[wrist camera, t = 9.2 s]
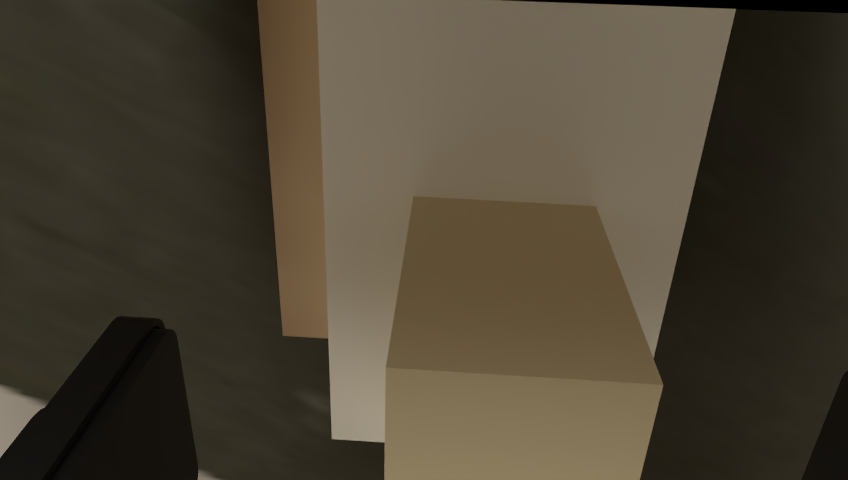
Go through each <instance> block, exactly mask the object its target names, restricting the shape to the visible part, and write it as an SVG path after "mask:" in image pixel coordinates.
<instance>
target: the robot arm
mask: <svg viewBox="0 0 848 480" xmlns="http://www.w3.org/2000/svg"><path fill="white" fill-rule="evenodd" d="M197 479H198V463H197V457H196V451H195V445H194V439H193V433H192V426H191V420H190V414H189V408H188V402H187V396H186V390H185V384H184V378H183V371H182V365H181V359H180V353H179V347H178V341H177V336H176V333H175V332H174V330H171V329H165V326H164V324H163V322H162V320H160V319H158V318H142V317H125V316H120V317H117V318H115V319H114V320H113V321H112V322H111V324H110V325H109V326H108V328H107V329H106V330H105V331H104V333H103V334H102V335H101V336H100V338H99V339H98V340H97V342H96V343H95V344H94V345H93V347H92V348H91V349H90V351H89V352H88V353H87V354H86V356H85V357H84V358H83V360H82V361H81V362H80V363H79V365H78V366H77V367H76V369H75V370H74V371H73V372H72V374H71V375H70V376H69V378H68V379H67V380H66V381H65V383H64V384H63V385H62V386H61V388H60V389H59V390H58V392H57V393H56V394H55V395H54V397H53V398H52V399H51V401H50V402H49V403H48V404H47V406H46V407H45V408H43V409H41V410H40V411H39V412H38V413H36V414H35V415H34V416H33V417H32V419H31V420H30V421H29V422H28V424H27V425H26V426H25V428H24V429H23V430H22V431H21V432H20V434H19V435H18V437H16V439H15V440H14V442H13V443H12V444H11V445H10V446H9V448H8V449H7V450H6V451H5V453H4V454H3V455H2V456H1V458H0V480H197ZM802 480H848V371H847V372H846V373H845V374H844V375H843V377H842V379H841V381H840V384H839V387H838V389H837V392H836V394H835V397H834V399H833V402H832V404H831V407H830V409H829V412H828V414H827V417H826V419H825V422H824V424H823V427H822V429H821V432H820V435H819V437H818V440H817V442H816V445H815V447H814V450H813V452H812V455H811V457H810V460H809V462H808V465H807V467H806V470H805V472H804V475H803V477H802Z"/></svg>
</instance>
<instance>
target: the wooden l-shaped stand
mask: <svg viewBox="0 0 848 480" xmlns="http://www.w3.org/2000/svg"><path fill="white" fill-rule="evenodd" d="M501 1H529V2H556V3H584V4H612V5H639V6H667V7H694V8H722V9H749V10H777V11H804V12H832V13H848V0H501ZM257 6H258V19H259V32H260V45H261V58H262V71H263V84H264V97H265V110H266V123H267V136H268V149H269V162H270V175H271V188H272V201H273V214H274V227H275V240H276V253H277V266H278V279H279V292H280V305H281V318H282V331H283V336H295V337H312V338H328V313H327V285H326V256H325V228H324V199H323V171H322V142H321V114H320V85H319V56H318V28H317V0H257Z"/></svg>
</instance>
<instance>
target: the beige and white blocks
mask: <svg viewBox="0 0 848 480" xmlns="http://www.w3.org/2000/svg"><path fill="white" fill-rule="evenodd" d="M735 11H736V9H722V8H694V7H667V6H639V5H612V4H584V3H556V2H529V1H501V0H317V28H318V56H319V85H320V114H321V142H322V171H323V199H324V228H325V256H326V285H327V313H328V342H329V370H330V399H331V427H332V439H340V440H355V441H371V442H385V465H384V480H640V476H641V472H642V468H643V464H644V460H645V456H646V452H647V448H648V444H649V440H650V436H651V432H652V428H653V424H654V420H655V416H656V412H657V408H658V404H659V400H660V396H661V392H662V388H663V383H662V380H661V377H660V375H659V372H658V369H657V367H656V364H655V361H654V359H653V358H654V354H655V350H656V345H657V341H658V337H659V333H660V328H661V324H662V320H663V316H664V312H665V307H666V303H667V299H668V295H669V290H670V286H671V282H672V278H673V273H674V269H675V265H676V261H677V257H678V252H679V248H680V244H681V240H682V235H683V231H684V227H685V223H686V218H687V214H688V210H689V206H690V202H691V197H692V193H693V189H694V185H695V180H696V176H697V172H698V168H699V163H700V159H701V155H702V151H703V147H704V142H705V138H706V134H707V130H708V125H709V121H710V117H711V113H712V108H713V104H714V100H715V96H716V92H717V87H718V83H719V79H720V75H721V70H722V66H723V62H724V58H725V54H726V49H727V45H728V41H729V37H730V32H731V28H732V24H733V20H734V15H735Z"/></svg>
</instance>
